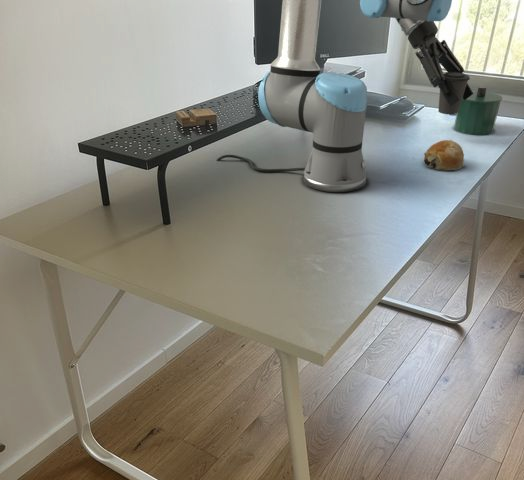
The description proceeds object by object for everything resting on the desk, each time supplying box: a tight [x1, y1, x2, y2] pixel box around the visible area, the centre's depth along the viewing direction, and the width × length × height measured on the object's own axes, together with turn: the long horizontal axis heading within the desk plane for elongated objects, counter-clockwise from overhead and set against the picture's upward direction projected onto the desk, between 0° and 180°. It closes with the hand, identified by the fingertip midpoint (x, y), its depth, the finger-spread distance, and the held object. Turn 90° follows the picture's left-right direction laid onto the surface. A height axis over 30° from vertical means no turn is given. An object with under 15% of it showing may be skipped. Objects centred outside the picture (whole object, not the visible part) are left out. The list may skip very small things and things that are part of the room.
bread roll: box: [423, 139, 465, 172], centre depth 144 cm, size 10×10×8 cm
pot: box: [453, 100, 501, 136], centre depth 167 cm, size 11×11×9 cm
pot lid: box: [462, 85, 503, 103], centre depth 164 cm, size 12×12×4 cm
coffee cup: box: [437, 71, 471, 115], centre depth 153 cm, size 8×8×10 cm
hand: (462, 100), depth 153 cm, fingers closed on coffee cup, 8 cm apart
